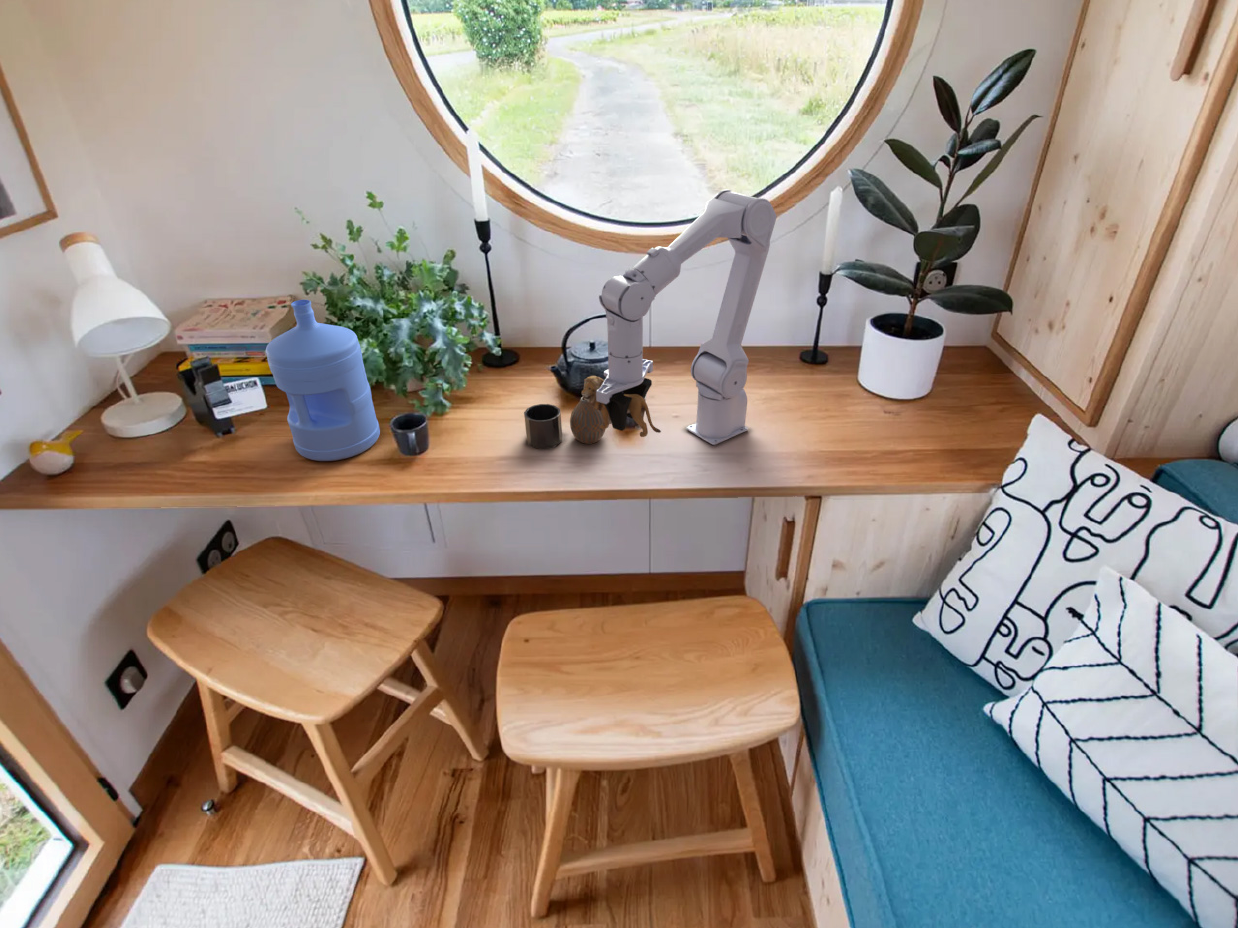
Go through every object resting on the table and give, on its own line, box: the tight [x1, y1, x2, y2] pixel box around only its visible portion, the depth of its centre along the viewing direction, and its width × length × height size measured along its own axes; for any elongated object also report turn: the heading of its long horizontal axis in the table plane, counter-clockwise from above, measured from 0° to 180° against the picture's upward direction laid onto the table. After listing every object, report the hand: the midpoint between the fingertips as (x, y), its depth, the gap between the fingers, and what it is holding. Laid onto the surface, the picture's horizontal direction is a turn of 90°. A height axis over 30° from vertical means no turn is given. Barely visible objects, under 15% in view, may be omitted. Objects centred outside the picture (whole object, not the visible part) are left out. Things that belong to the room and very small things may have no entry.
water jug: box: [265, 299, 381, 462], centre depth 125 cm, size 16×16×28 cm
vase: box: [569, 395, 606, 445], centre depth 130 cm, size 7×7×9 cm
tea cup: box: [523, 403, 563, 450], centre depth 131 cm, size 7×7×6 cm
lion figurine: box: [581, 375, 662, 438], centre depth 118 cm, size 15×5×9 cm, turn 67°
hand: (626, 423), depth 120 cm, fingers closed on lion figurine, 4 cm apart
